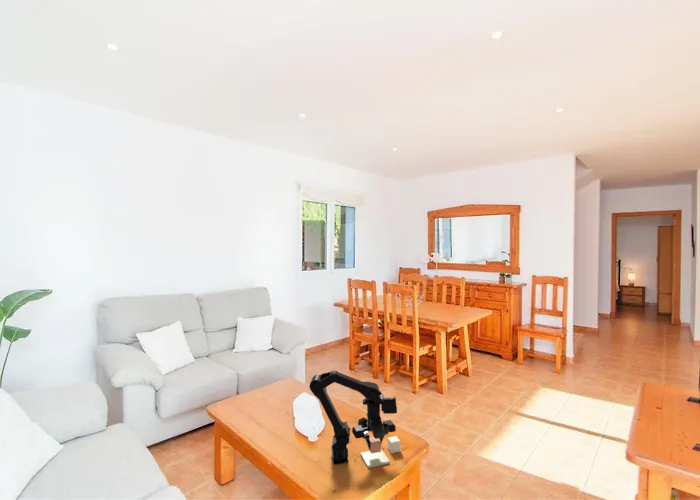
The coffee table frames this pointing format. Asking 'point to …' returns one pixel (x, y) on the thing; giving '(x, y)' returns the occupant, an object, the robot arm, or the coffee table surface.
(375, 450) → the terracotta brick
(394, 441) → the cream brick
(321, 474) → the coffee table surface
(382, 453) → the plate
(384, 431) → the robot arm
